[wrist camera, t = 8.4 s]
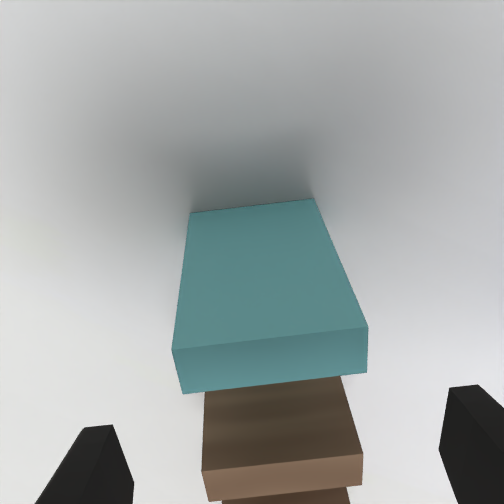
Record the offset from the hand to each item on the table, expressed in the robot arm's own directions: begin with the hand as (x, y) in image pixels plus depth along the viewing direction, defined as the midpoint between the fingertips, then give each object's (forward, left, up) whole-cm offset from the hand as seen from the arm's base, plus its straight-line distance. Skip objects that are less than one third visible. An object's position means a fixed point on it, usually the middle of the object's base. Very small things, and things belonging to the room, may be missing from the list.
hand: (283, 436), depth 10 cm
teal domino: (0, 0, -10) cm, 10 cm away
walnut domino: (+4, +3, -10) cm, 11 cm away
